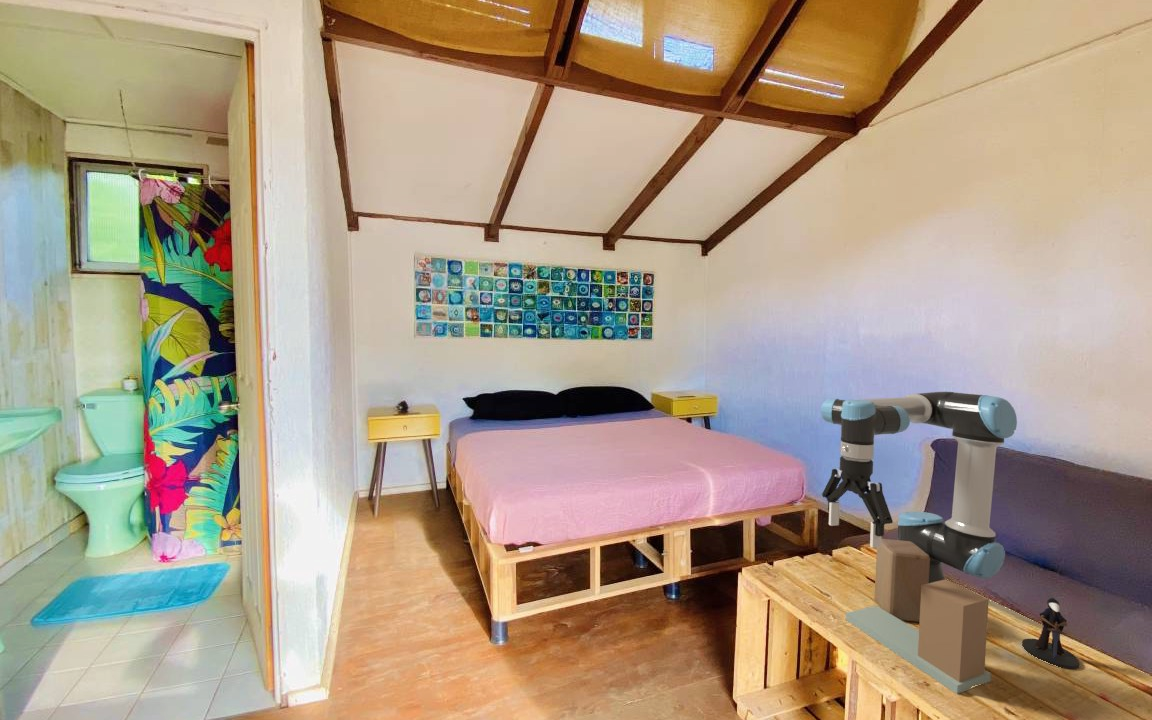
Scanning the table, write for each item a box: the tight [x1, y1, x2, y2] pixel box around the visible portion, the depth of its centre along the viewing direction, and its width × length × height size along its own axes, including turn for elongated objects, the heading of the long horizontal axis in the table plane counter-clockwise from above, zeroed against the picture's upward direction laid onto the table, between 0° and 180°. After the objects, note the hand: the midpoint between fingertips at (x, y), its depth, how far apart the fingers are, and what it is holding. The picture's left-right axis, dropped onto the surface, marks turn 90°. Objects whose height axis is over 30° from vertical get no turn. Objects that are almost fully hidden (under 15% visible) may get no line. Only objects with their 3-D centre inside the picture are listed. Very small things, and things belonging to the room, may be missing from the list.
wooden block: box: [874, 538, 930, 623], centre depth 130 cm, size 10×10×20 cm
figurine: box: [1021, 597, 1081, 670], centre depth 113 cm, size 10×10×15 cm
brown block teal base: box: [845, 578, 992, 695], centre depth 115 cm, size 12×28×20 cm, turn 19°
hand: (853, 535), depth 119 cm, fingers open, 13 cm apart
